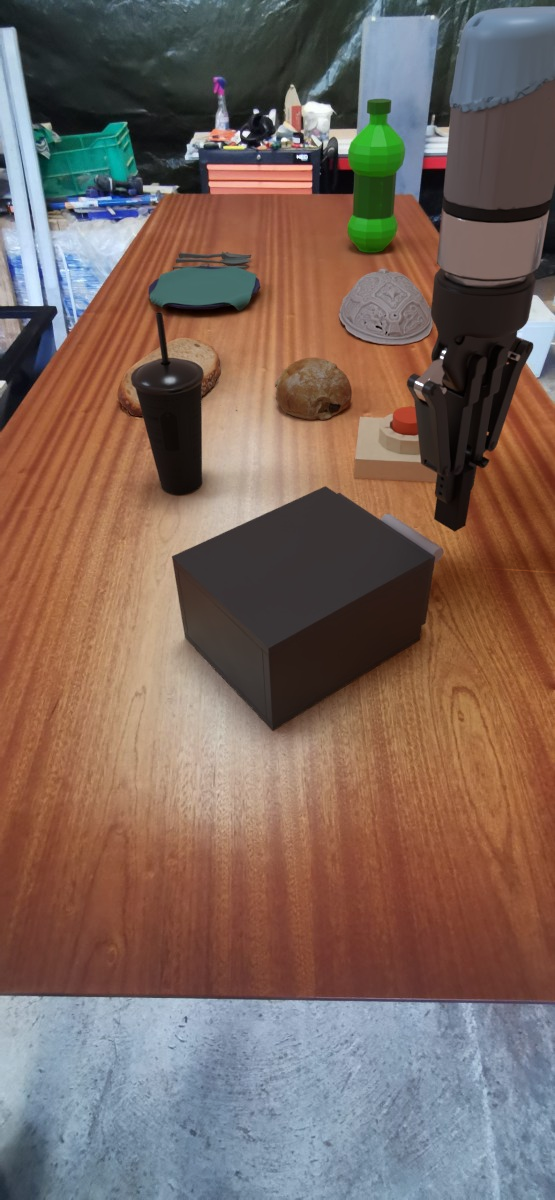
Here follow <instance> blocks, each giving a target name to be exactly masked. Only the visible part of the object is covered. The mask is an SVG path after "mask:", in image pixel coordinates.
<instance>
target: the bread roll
mask: <svg viewBox="0 0 555 1200" xmlns="http://www.w3.org/2000/svg"><path fill="white" fill-rule="evenodd" d="M274 388H276V390H275V395H276V402H277V405H278V406H279V407H280V408H281V409H282V411H283V412H284V413H285V414H286V415H287V414H288V415H290V416H293V417H295V418H299V419H301V420H308V421H309V420H312V421H314V420H315V421H316V420H320V421H326V420H329V419H330V418H332V417H334V416H336V415H338V414H339V413H341V412H342V411H344V410H346V409H348V407H349V405H350V404H351V401H352V394H353V391H352V385H351V383H350V380H349V378H348V376H347V374H346V373H345V372H344V371H343V370H341V369H340V368H339V367H338V365H337V363H335V362H331V361H330V360H327V359H324V358H320V357H307V358H301V359H299V360H296V361H294V362H293V363H291V364H289V365H288V366H287V367H286V368H284V369H282V371H281V376H279V377H278V378H277V379H276V381H275V383H274Z"/></svg>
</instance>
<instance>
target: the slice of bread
mask: <svg viewBox="0 0 555 1200" xmlns="http://www.w3.org/2000/svg"><path fill="white" fill-rule="evenodd" d="M166 344H167V352H168V358H178V359H184V360H189V361H192V362H195V363H197V364H198V365H200V366H201V367H202V369H203V372H204V377H203V380H202V382H201V395H202V397H204V396H205V395H206V394H207V393H208V392H210V391H211V389H212V388H214V387H215V384H216V380H217V379H218V378H219V377H220V375H221V371H222V369H221V368H222V367H221V360H220V357H219V354H218V353H217V351H216V350H215V348H214V346H212V345H210V344H209V343H207V342H205V341H202V340H201V339H196V338H192V337H177V338H175V339H172V340H170V341H167V342H166ZM157 359H162V356H161V349H160V346H158V347H156V348H155V349H153V350H152V351H151V352H148V354H146V355H145V356H143V357H142V358H140V360H138V361H136V362H135V363H134V364H133V365H132V366H131V367H130V368H127V370H126V371H125V373H124V374H123V376H122V378H121V381H120V383H119V386H118V388H117V393H116V396H117V398H118V400H119V402H120V404H121V406H122V407H123V408H125V409H126V410H128V412H129V413H130V415H132V416H134V417H143V415H142V411H141V407H140V403H139V399H138V396H137V392H136V388H135V387H134V386H133V385H132V382H131V375H132V373H133V372H134V370H135V369H137V368H138V367H140V366H142V365H144V364H146V363H149V362H151V361H154V360H157Z"/></svg>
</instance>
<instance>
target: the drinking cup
mask: <svg viewBox="0 0 555 1200" xmlns="http://www.w3.org/2000/svg"><path fill="white" fill-rule="evenodd" d="M155 319H156V326H157V333H158V338H159V339H158V341H159V342H158V343H159V347H160V349H161V356H162V359H157V360H154V361H151V362H149V363H146V364H144V365H142V366H140V367H138V368H137V369H135V370H134V372H133V373H132V375H131V382H132V385H133V386H134V387H135V388H136V392H137V396H138V399H139V403H140V407H141V411H142V415H143V416H142V419H143V423H144V426H145V430H146V433H147V437H148V441H149V444H150V448H151V453H152V456H153V461H154V464H155V468H156V472H157V475H158V479H159V483H160V488H161V489H162V491H164V492H165V493H167V494H169V495H174V496H184V495H188V494H192V493H194V492H196V491H198V490H199V489H200V488H201V486H202V484H203V433H202V432H203V427H202V426H203V423H202V419H203V415H202V411H203V407H202V406H203V405H202V404H203V403H202V397H203V396H202V395H201V382H202V380H203V377H204V372H203V369H202V367H201V366H200V365H198V364H197V363H195V362H192V361H189V360H184V359H178V358H168V352H167V344H166V343H167V336H166V329H165V322H164V314H163V312H162V311H158V312H156V313H155Z"/></svg>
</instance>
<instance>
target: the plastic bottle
mask: <svg viewBox="0 0 555 1200" xmlns="http://www.w3.org/2000/svg"><path fill="white" fill-rule="evenodd" d="M366 103H367V104H366V114H369V119H368V121H369V122H368V123H367V125H366V126H364V127H363V128H362V129H361V131H359V132H358V134H357V135H356V136H355V137H354V138H353V139H352V141H351V142H350V144H349V147H348V150H347V152H348V153H347V160H348V166H349V168H350V169H351V170H352V171H353V201H352V214H351V217H350V218H349V221H348V223H347V235H348V238H349V239H350V241H351V242H352V243H353V245H355V247H357V249H358V250H359V251H360V252H363V253H373V254H374V253H379V252H383V251H384V250H385V248H386V247H388V246H389V245H390V244H391V242H392V241H393V239H395V237H396V235H397V232H398V225H399V223H398V221H397V218H396V216H395V213H394V212H395V198H396V183H397V173H398V171H399V170H400V169H401V168H402V166H403V164H404V160H405V156H406V147H405V142H404V140H403V138H402V137H401V136H400V135H399V133H397V131H396V130H395V129H394V128H393V127H392V126H391V125H390V123H388V115H389V114H391V112H392V99H389V98H371V99H368V100H367V102H366Z"/></svg>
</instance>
